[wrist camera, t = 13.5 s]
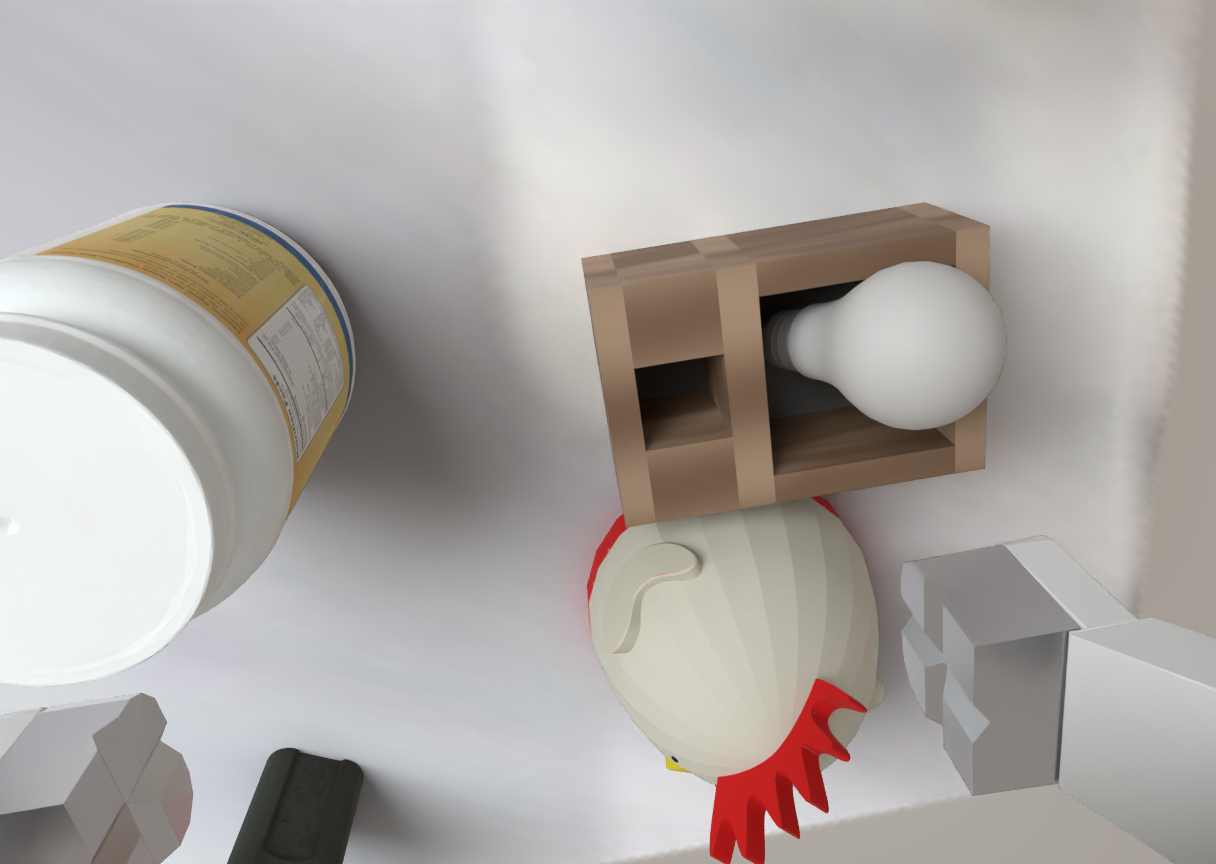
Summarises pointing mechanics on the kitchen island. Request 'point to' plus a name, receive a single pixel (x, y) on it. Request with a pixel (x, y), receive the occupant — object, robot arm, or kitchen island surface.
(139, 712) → the robot arm
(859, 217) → the socket block
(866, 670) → the kitchen timer
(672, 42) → the kitchen island surface
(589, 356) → the kitchen island surface
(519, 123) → the kitchen island surface
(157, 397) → the supplement tub
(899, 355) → the lightbulb
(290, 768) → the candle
